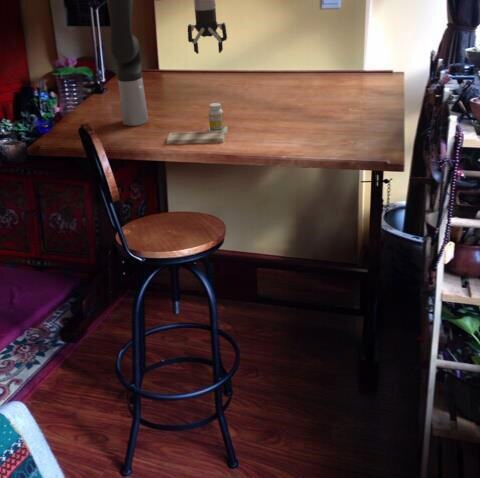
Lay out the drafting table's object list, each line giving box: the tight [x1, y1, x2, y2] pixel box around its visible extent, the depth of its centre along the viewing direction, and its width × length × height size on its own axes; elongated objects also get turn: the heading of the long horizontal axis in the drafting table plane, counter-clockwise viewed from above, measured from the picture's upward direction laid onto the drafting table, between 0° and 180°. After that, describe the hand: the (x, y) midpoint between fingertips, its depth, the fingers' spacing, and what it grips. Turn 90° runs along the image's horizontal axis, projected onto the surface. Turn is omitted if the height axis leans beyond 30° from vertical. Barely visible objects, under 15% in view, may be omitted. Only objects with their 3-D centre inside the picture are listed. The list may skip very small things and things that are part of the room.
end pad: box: [207, 125, 229, 135], centre depth 230 cm, size 7×7×1 cm
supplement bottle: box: [208, 102, 225, 132], centre depth 228 cm, size 5×5×10 cm
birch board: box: [166, 131, 226, 145], centre depth 223 cm, size 20×7×2 cm, turn 86°
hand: (208, 52), depth 234 cm, fingers open, 8 cm apart
